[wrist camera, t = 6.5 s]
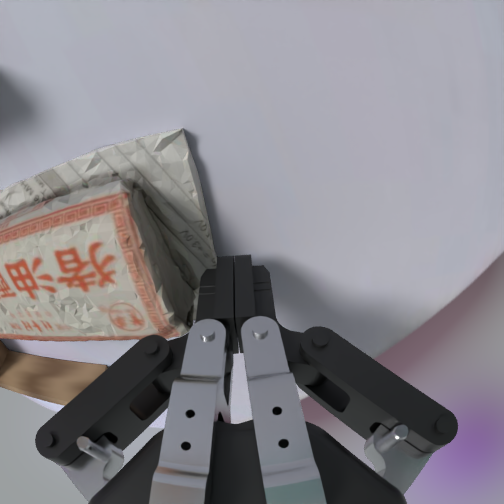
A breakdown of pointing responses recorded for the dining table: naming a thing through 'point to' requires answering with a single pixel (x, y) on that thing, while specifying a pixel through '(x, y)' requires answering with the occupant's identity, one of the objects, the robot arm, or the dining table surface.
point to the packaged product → (106, 245)
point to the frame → (45, 376)
